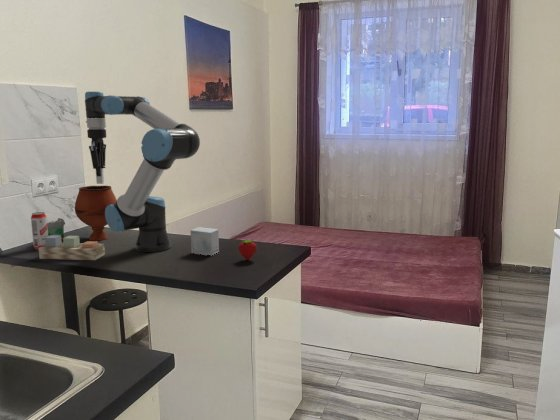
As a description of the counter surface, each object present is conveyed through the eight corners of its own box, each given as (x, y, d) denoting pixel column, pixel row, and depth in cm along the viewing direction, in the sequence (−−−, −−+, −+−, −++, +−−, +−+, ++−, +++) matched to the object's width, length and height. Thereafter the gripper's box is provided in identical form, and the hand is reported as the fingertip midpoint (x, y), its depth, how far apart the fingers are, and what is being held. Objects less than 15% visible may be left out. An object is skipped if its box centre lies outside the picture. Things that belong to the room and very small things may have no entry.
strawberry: (257, 262, 202) (257, 238, 200) (238, 262, 201) (238, 238, 199) (256, 258, 207) (256, 234, 205) (238, 258, 206) (237, 235, 205)
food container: (55, 245, 227) (53, 224, 225) (43, 244, 228) (41, 223, 226) (72, 239, 239) (70, 218, 237) (60, 238, 240) (58, 218, 238)
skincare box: (190, 253, 214) (189, 229, 212) (199, 250, 220) (198, 226, 218) (211, 256, 210) (210, 232, 208) (219, 252, 216) (219, 228, 214)
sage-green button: (79, 245, 211) (79, 235, 210) (74, 248, 207) (73, 238, 206) (69, 244, 211) (68, 235, 211) (63, 247, 207) (63, 238, 206)
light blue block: (61, 244, 212) (61, 235, 211) (56, 247, 207) (55, 238, 207) (51, 244, 212) (50, 235, 212) (45, 247, 208) (44, 237, 207)
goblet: (128, 236, 243) (125, 186, 238) (95, 245, 227) (91, 191, 222) (102, 232, 253) (98, 183, 248) (68, 240, 237) (64, 187, 232)
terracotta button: (98, 250, 211) (97, 241, 210) (93, 253, 206) (92, 244, 205) (88, 250, 211) (87, 241, 210) (82, 253, 207) (81, 243, 206)
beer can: (30, 249, 220) (27, 214, 217) (40, 246, 226) (37, 211, 223) (42, 250, 218) (39, 214, 215) (52, 247, 224) (49, 212, 221)
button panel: (104, 254, 213) (104, 243, 212) (95, 260, 204) (94, 249, 203) (51, 252, 215) (50, 242, 215) (39, 258, 207) (38, 248, 206)
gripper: (94, 128, 220) (98, 181, 225) (81, 129, 207) (85, 185, 212) (111, 128, 220) (114, 181, 224) (99, 129, 207) (102, 185, 212)
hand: (100, 183), depth 218 cm, fingers closed
